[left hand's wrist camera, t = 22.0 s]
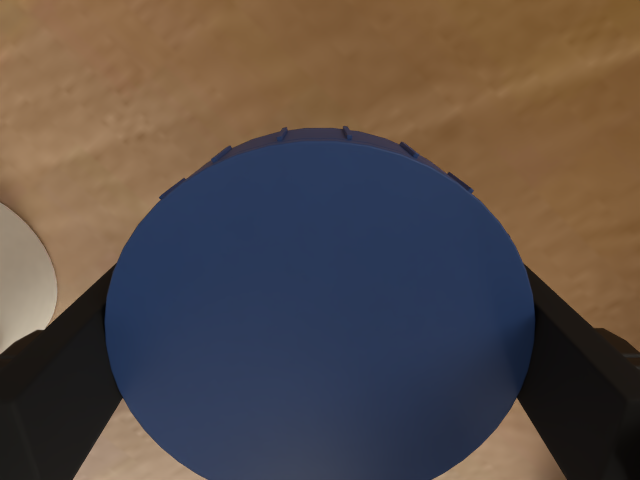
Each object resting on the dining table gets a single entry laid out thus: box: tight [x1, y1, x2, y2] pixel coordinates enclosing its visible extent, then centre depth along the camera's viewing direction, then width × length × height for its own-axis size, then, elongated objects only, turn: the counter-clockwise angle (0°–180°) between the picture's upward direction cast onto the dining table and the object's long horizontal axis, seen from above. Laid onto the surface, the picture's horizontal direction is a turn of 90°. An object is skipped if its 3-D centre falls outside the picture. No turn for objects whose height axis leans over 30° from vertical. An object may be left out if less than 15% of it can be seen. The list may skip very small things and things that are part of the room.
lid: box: [104, 126, 535, 480], centre depth 11 cm, size 10×10×2 cm
